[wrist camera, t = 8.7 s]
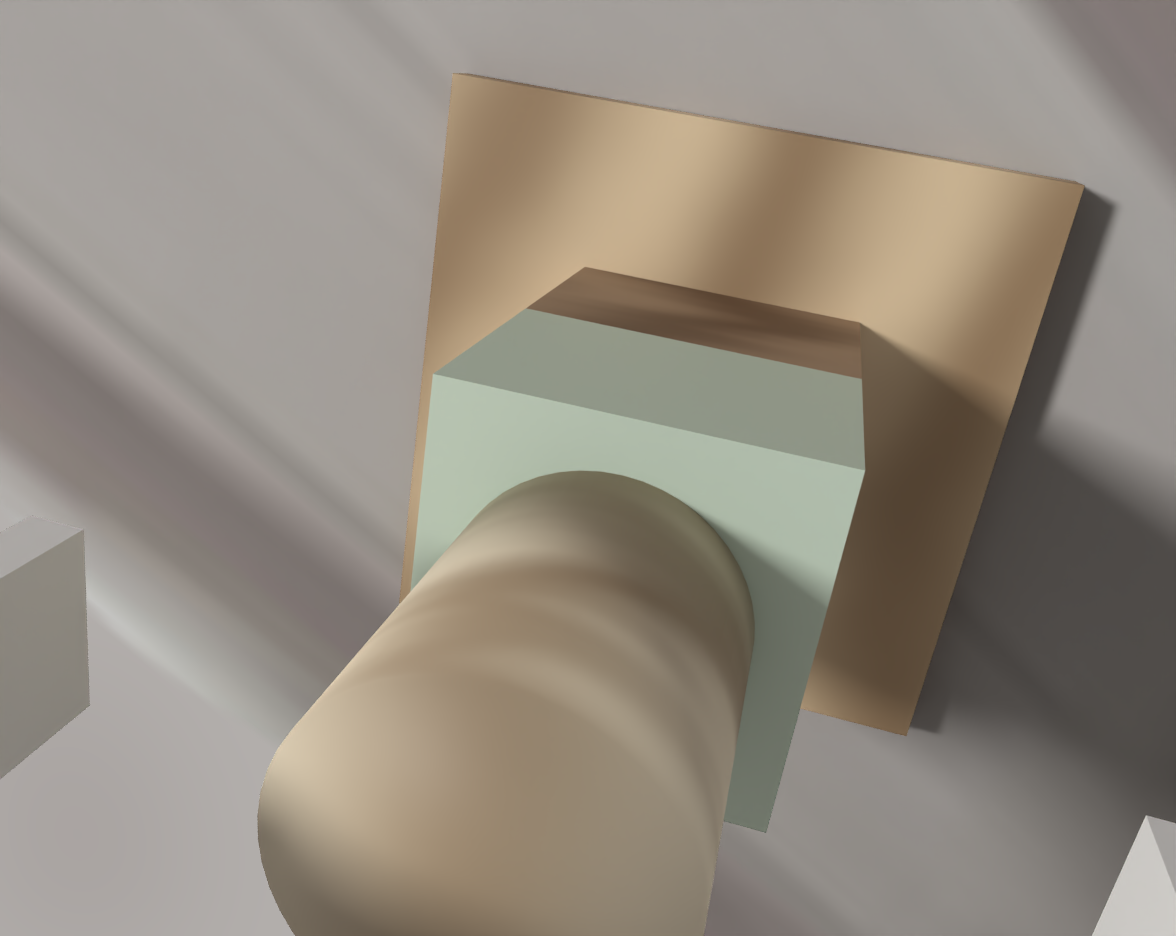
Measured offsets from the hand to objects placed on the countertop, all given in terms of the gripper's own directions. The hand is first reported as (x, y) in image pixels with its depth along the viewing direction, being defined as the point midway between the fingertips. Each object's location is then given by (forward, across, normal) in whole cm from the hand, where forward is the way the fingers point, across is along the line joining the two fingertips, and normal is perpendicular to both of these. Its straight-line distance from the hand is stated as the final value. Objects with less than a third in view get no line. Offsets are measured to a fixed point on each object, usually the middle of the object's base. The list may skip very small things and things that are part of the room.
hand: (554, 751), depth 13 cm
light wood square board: (+15, 0, 0) cm, 15 cm away
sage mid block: (+9, 0, 0) cm, 9 cm away
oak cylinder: (+4, 0, 0) cm, 4 cm away
